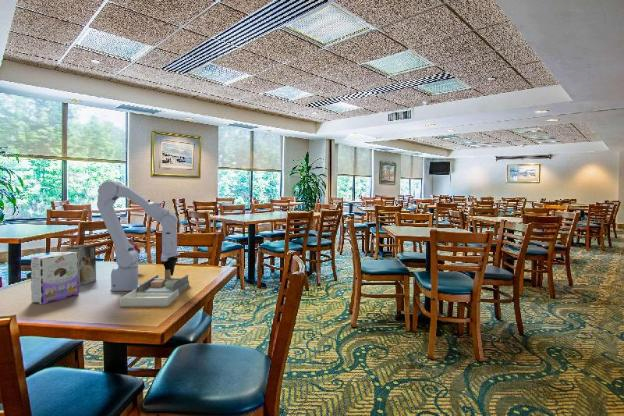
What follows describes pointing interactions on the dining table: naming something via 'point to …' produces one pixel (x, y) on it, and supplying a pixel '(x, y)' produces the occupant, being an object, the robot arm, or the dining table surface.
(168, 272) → the pale grey block
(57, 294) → the candy box
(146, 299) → the box
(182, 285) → the plate
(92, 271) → the coffee box
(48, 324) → the dining table surface
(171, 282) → the sage tile
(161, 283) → the terracotta tile
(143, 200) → the robot arm
